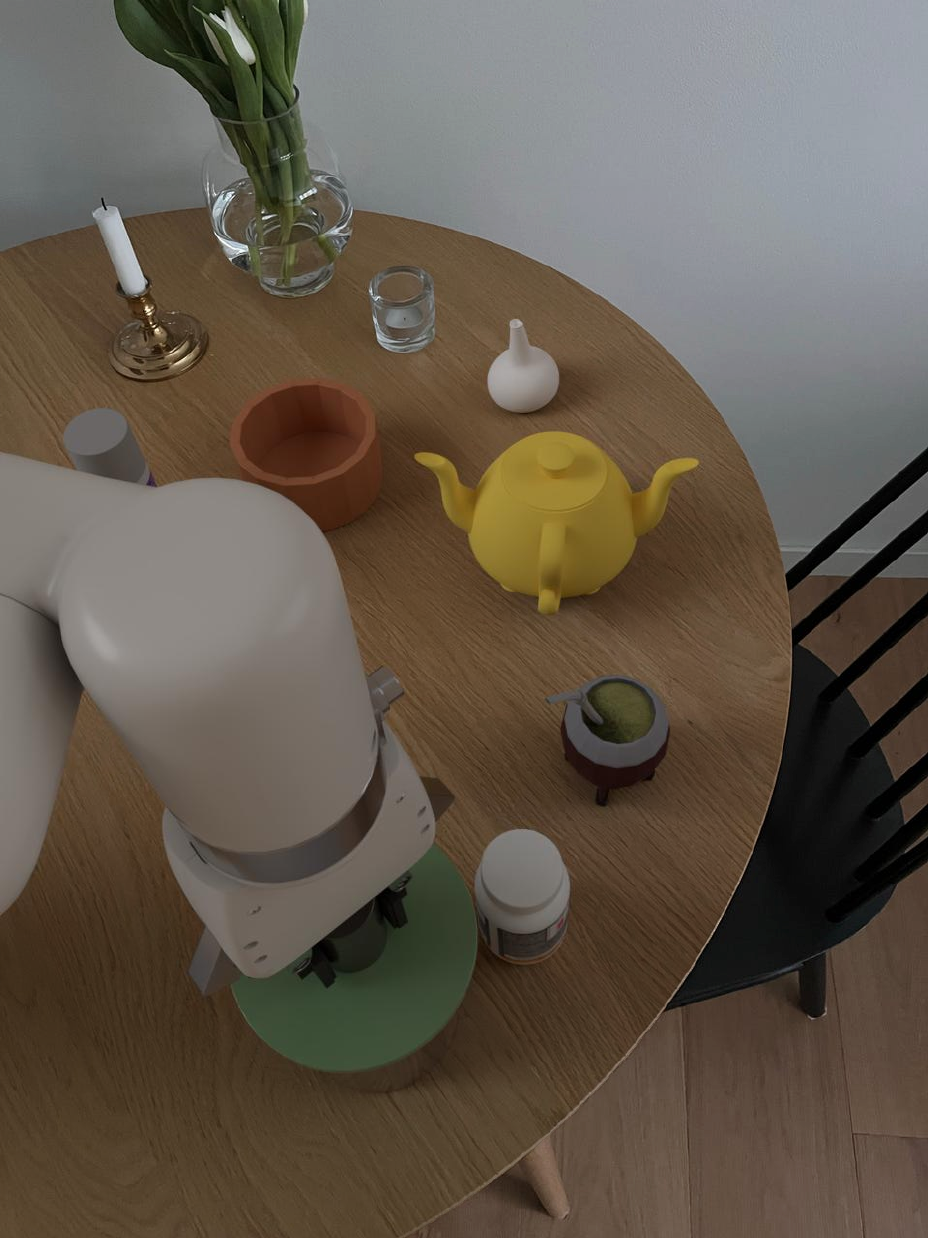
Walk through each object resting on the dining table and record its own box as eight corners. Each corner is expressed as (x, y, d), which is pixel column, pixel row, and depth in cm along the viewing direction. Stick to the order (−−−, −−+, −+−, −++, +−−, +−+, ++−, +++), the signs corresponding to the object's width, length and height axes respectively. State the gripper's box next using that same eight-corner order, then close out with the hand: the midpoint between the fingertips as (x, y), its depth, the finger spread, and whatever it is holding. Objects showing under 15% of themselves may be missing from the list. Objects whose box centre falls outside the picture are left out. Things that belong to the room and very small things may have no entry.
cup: (277, 1058, 64) (245, 1023, 56) (341, 911, 69) (319, 860, 61) (424, 1118, 62) (412, 1089, 54) (480, 961, 67) (475, 915, 59)
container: (167, 529, 87) (108, 396, 75) (197, 563, 85) (142, 432, 73) (117, 559, 86) (49, 429, 73) (146, 595, 84) (81, 467, 71)
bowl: (222, 513, 88) (204, 464, 83) (283, 416, 94) (269, 365, 89) (350, 548, 85) (339, 500, 80) (404, 446, 91) (397, 395, 86)
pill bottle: (582, 906, 68) (591, 848, 60) (540, 985, 66) (543, 936, 57) (505, 864, 70) (503, 802, 62) (461, 939, 67) (453, 885, 59)
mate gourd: (667, 733, 75) (697, 615, 62) (648, 835, 71) (675, 730, 58) (564, 710, 76) (573, 590, 64) (539, 809, 72) (543, 701, 60)
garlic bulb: (567, 411, 93) (571, 340, 86) (497, 425, 92) (496, 355, 85) (547, 362, 96) (549, 291, 89) (480, 375, 96) (477, 304, 89)
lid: (187, 1022, 52) (147, 985, 47) (296, 798, 59) (272, 743, 53) (424, 1116, 49) (412, 1090, 44) (511, 870, 56) (510, 820, 50)
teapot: (416, 636, 80) (402, 544, 71) (432, 486, 88) (422, 385, 79) (683, 645, 79) (706, 552, 69) (675, 492, 87) (694, 390, 77)
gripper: (399, 579, 42) (432, 779, 57) (17, 841, 36) (166, 984, 52) (526, 705, 38) (525, 882, 54) (125, 1015, 33) (251, 1113, 48)
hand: (349, 931), depth 52 cm, fingers closed on lid, 3 cm apart
